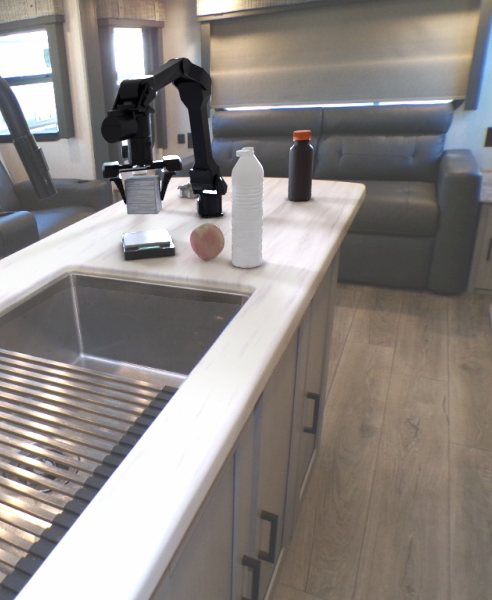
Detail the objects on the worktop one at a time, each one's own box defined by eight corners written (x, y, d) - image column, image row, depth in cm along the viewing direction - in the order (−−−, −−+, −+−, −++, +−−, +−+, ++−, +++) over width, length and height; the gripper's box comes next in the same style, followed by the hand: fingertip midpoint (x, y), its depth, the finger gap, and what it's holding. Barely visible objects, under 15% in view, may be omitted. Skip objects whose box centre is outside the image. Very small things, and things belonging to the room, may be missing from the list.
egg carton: (191, 199, 178) (191, 186, 176) (175, 196, 184) (175, 184, 182) (213, 192, 184) (213, 180, 182) (197, 189, 189) (196, 178, 188)
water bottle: (235, 257, 123) (235, 145, 113) (264, 259, 120) (267, 144, 110) (225, 270, 116) (224, 152, 106) (256, 273, 113) (258, 151, 103)
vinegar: (313, 196, 166) (317, 129, 158) (307, 202, 161) (311, 132, 153) (291, 195, 169) (293, 129, 161) (285, 201, 164) (287, 133, 156)
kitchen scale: (167, 238, 141) (167, 228, 140) (175, 255, 128) (174, 244, 127) (122, 242, 141) (121, 233, 140) (124, 260, 128) (124, 249, 127)
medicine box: (162, 210, 133) (160, 174, 130) (157, 214, 129) (155, 178, 126) (132, 210, 136) (129, 175, 132) (126, 215, 132) (123, 179, 128)
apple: (202, 250, 129) (201, 218, 126) (230, 255, 125) (230, 221, 121) (184, 260, 124) (182, 227, 121) (213, 265, 119) (212, 231, 116)
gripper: (174, 128, 133) (177, 191, 139) (99, 136, 133) (105, 198, 139) (181, 133, 122) (183, 201, 129) (99, 142, 123) (106, 209, 129)
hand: (144, 202), depth 131 cm, fingers closed on medicine box, 9 cm apart
